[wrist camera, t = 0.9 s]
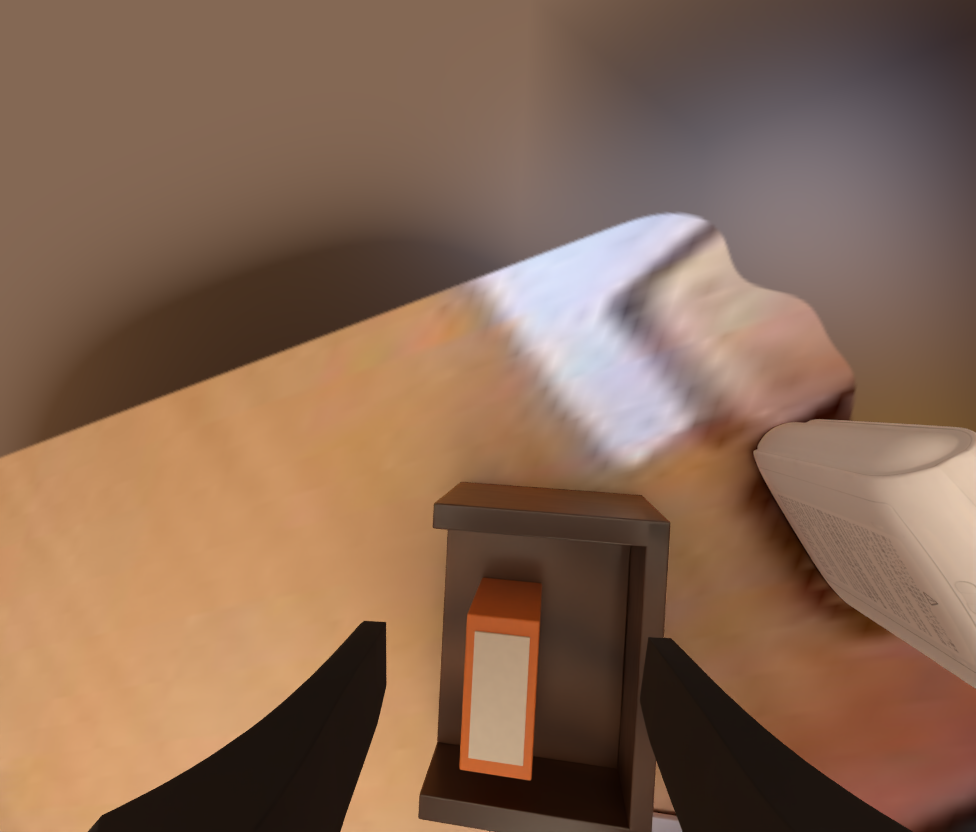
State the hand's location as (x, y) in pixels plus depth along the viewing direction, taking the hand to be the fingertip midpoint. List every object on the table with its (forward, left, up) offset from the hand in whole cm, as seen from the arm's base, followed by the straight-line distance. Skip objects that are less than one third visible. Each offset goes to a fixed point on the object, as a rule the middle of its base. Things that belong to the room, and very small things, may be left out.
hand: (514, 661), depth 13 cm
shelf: (-5, 0, -15) cm, 16 cm away
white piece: (+2, -16, -15) cm, 22 cm away
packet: (-6, +1, -12) cm, 13 cm away
